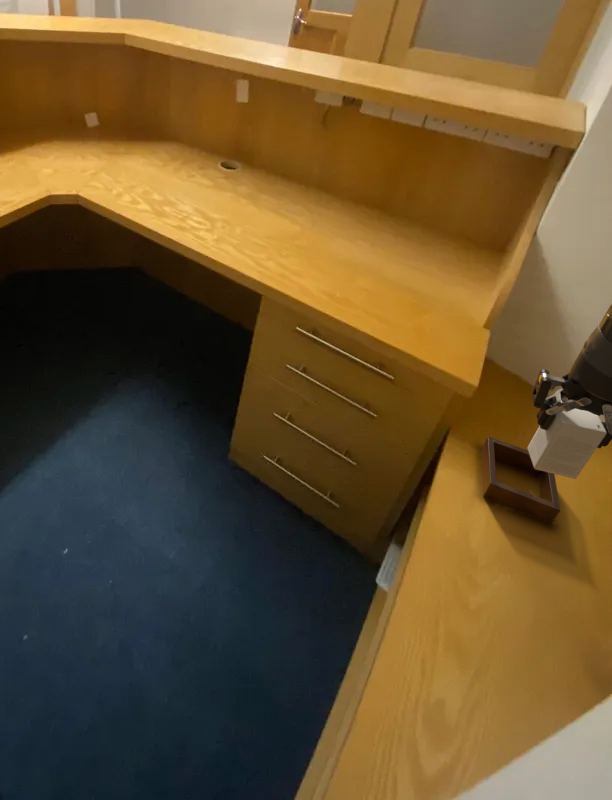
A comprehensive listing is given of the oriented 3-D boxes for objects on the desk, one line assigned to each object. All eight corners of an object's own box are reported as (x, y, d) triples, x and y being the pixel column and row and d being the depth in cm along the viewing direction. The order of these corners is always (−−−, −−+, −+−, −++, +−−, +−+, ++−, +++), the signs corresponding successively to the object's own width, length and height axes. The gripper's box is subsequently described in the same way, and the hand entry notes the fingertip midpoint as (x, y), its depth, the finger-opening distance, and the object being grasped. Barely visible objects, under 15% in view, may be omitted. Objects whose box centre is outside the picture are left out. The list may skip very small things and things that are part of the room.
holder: (540, 476, 98) (552, 458, 96) (548, 527, 90) (560, 510, 87) (479, 453, 102) (487, 435, 100) (480, 500, 94) (490, 483, 92)
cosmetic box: (566, 456, 85) (597, 410, 79) (575, 480, 82) (608, 433, 75) (525, 446, 87) (552, 400, 80) (532, 469, 83) (561, 423, 77)
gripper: (559, 361, 72) (517, 435, 80) (691, 399, 66) (631, 474, 75) (551, 327, 77) (513, 399, 86) (672, 359, 72) (618, 433, 80)
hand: (568, 433), depth 80 cm, fingers closed on cosmetic box, 6 cm apart
